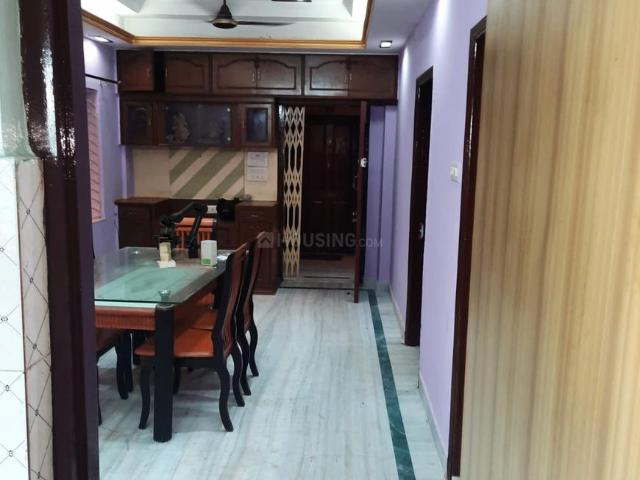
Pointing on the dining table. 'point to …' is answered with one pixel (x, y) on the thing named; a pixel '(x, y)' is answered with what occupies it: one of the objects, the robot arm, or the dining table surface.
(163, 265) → the off-white base block
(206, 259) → the skincare box
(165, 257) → the maple pillar block
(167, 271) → the dining table surface
